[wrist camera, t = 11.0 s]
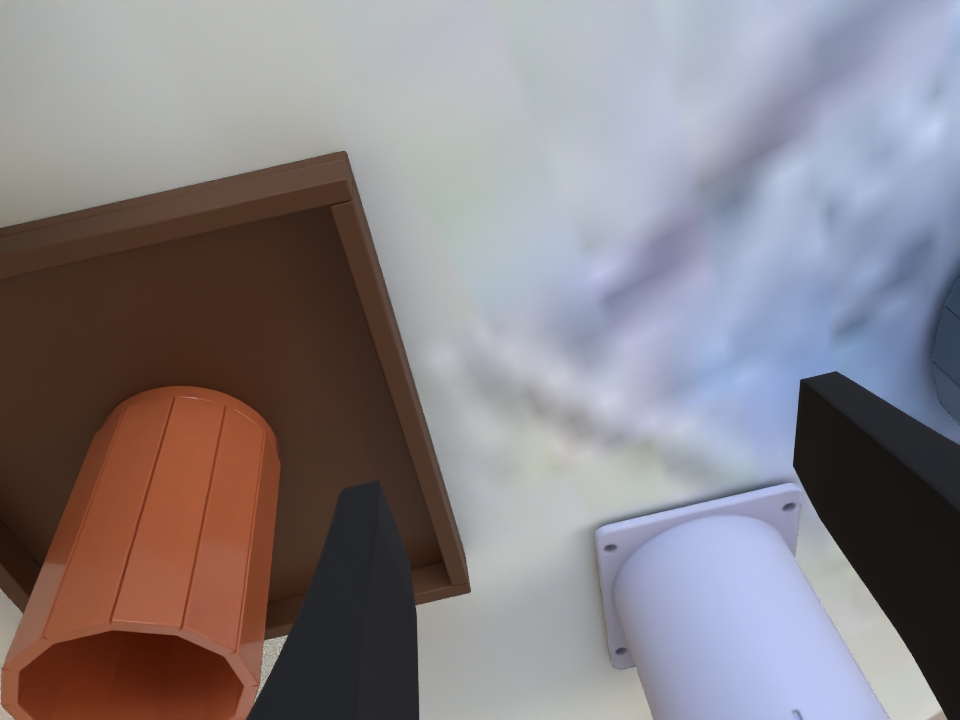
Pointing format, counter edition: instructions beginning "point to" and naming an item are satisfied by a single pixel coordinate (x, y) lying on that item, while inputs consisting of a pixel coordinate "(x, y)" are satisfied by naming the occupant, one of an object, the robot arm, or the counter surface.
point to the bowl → (948, 355)
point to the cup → (155, 569)
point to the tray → (219, 360)
